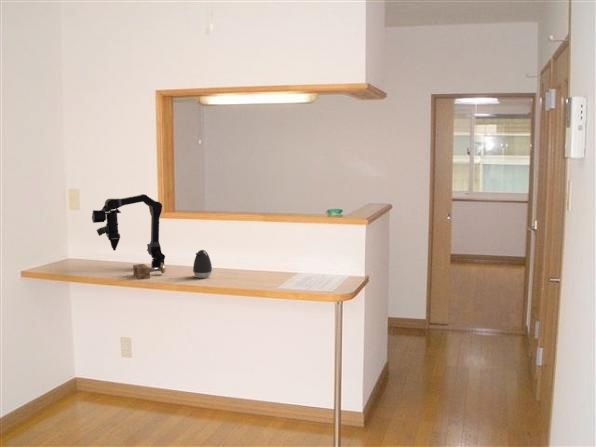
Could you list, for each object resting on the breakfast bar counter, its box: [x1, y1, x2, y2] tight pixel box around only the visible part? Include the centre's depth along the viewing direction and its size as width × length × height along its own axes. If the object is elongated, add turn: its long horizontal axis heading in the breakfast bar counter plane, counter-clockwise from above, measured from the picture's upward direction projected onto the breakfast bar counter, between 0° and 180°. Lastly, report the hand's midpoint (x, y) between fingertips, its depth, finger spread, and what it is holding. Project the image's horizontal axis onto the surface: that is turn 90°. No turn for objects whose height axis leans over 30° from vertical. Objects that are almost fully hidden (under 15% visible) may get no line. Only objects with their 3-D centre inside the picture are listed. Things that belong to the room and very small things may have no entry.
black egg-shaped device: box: [192, 249, 213, 279], centre depth 333 cm, size 10×10×15 cm
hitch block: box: [132, 263, 151, 280], centre depth 335 cm, size 6×12×6 cm, turn 28°
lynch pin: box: [150, 263, 166, 274], centre depth 338 cm, size 10×5×6 cm, turn 118°
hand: (113, 249), depth 342 cm, fingers open, 9 cm apart
